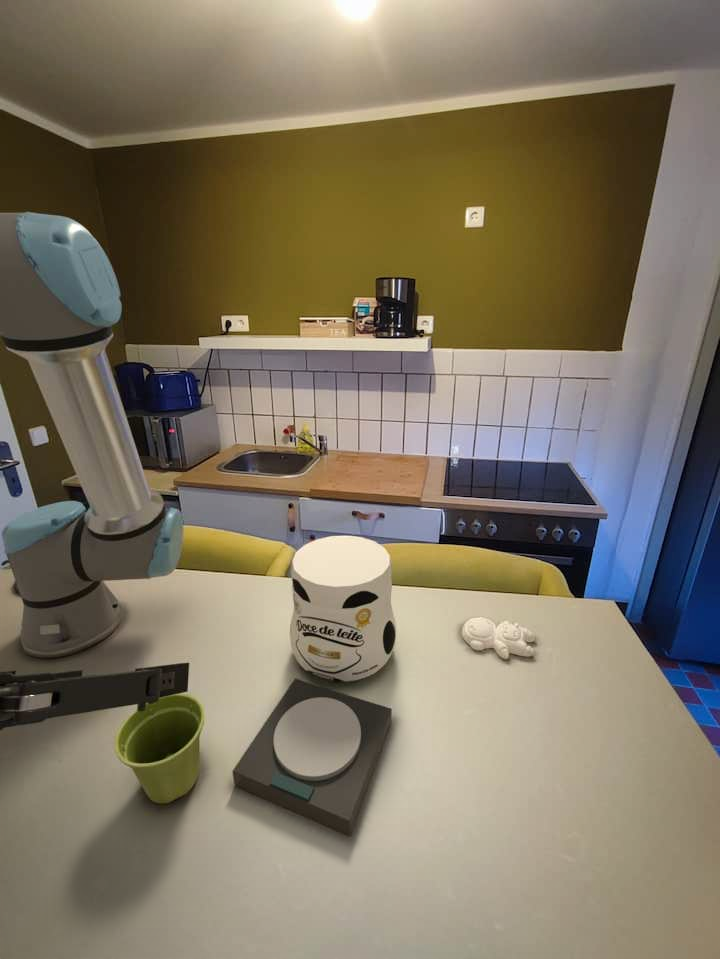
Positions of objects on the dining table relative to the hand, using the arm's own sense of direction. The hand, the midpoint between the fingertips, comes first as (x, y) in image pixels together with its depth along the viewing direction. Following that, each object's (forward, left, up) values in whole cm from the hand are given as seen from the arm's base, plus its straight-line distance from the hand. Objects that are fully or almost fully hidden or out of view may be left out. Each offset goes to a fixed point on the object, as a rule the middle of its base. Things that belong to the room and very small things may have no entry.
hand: (130, 680), depth 45 cm
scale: (+16, +11, -17) cm, 26 cm away
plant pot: (+1, +2, -17) cm, 17 cm away
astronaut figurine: (+36, +41, -17) cm, 57 cm away
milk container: (+12, +29, -17) cm, 35 cm away
